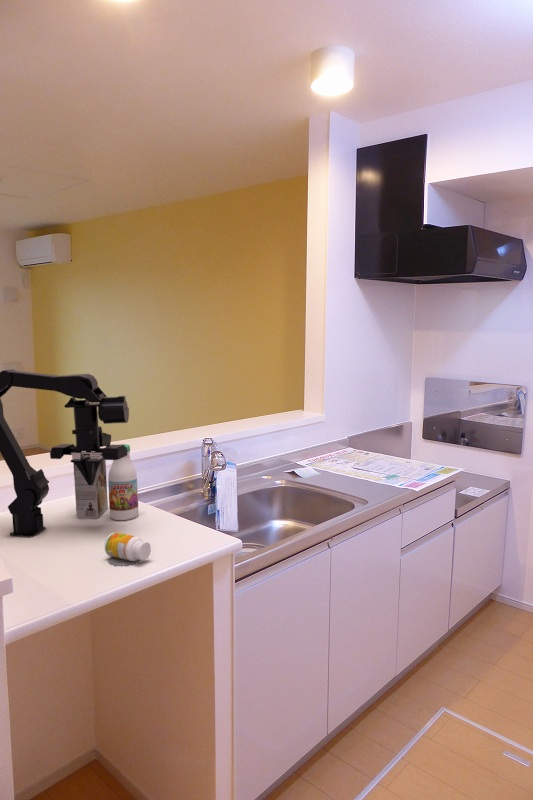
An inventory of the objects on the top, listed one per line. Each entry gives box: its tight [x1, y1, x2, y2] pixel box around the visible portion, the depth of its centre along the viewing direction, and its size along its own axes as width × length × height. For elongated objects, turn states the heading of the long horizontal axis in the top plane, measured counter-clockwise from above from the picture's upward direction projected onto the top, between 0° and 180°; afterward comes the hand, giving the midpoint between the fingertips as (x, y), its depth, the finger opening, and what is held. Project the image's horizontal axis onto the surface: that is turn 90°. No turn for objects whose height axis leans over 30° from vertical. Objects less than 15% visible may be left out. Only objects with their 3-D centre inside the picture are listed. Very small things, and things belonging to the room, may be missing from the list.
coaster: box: [107, 556, 142, 568], centre depth 132 cm, size 8×8×1 cm
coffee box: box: [72, 455, 109, 519], centre depth 164 cm, size 9×6×16 cm
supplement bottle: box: [103, 531, 152, 561], centre depth 131 cm, size 5×5×10 cm
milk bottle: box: [107, 443, 139, 521], centre depth 161 cm, size 8×8×20 cm
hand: (90, 485), depth 149 cm, fingers closed
